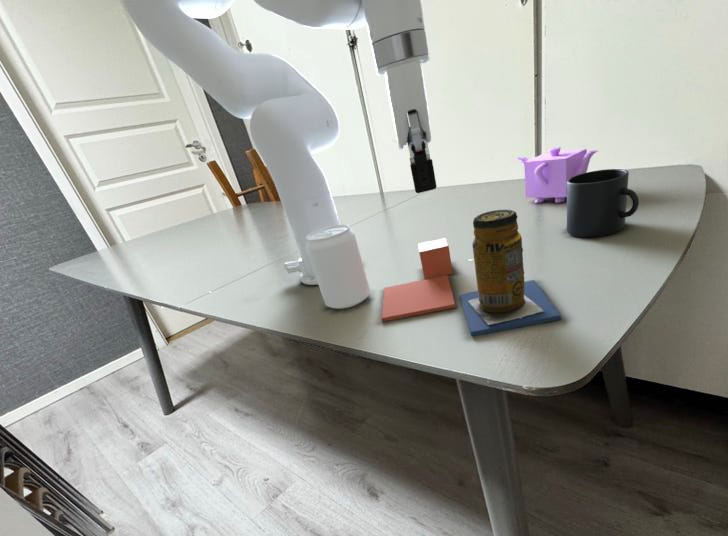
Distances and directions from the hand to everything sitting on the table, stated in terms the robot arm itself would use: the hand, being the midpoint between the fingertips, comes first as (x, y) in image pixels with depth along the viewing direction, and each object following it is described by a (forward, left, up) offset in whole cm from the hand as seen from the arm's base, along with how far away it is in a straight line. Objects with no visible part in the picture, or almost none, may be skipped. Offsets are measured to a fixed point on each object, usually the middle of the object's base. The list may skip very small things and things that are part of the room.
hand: (424, 185), depth 64 cm
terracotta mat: (-4, -10, -15) cm, 18 cm away
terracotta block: (0, 0, -15) cm, 15 cm away
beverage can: (-16, -5, -15) cm, 23 cm away
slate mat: (+8, -19, -15) cm, 25 cm away
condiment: (+7, -19, -14) cm, 25 cm away
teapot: (+31, +33, -15) cm, 48 cm away
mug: (+30, +4, -15) cm, 33 cm away
